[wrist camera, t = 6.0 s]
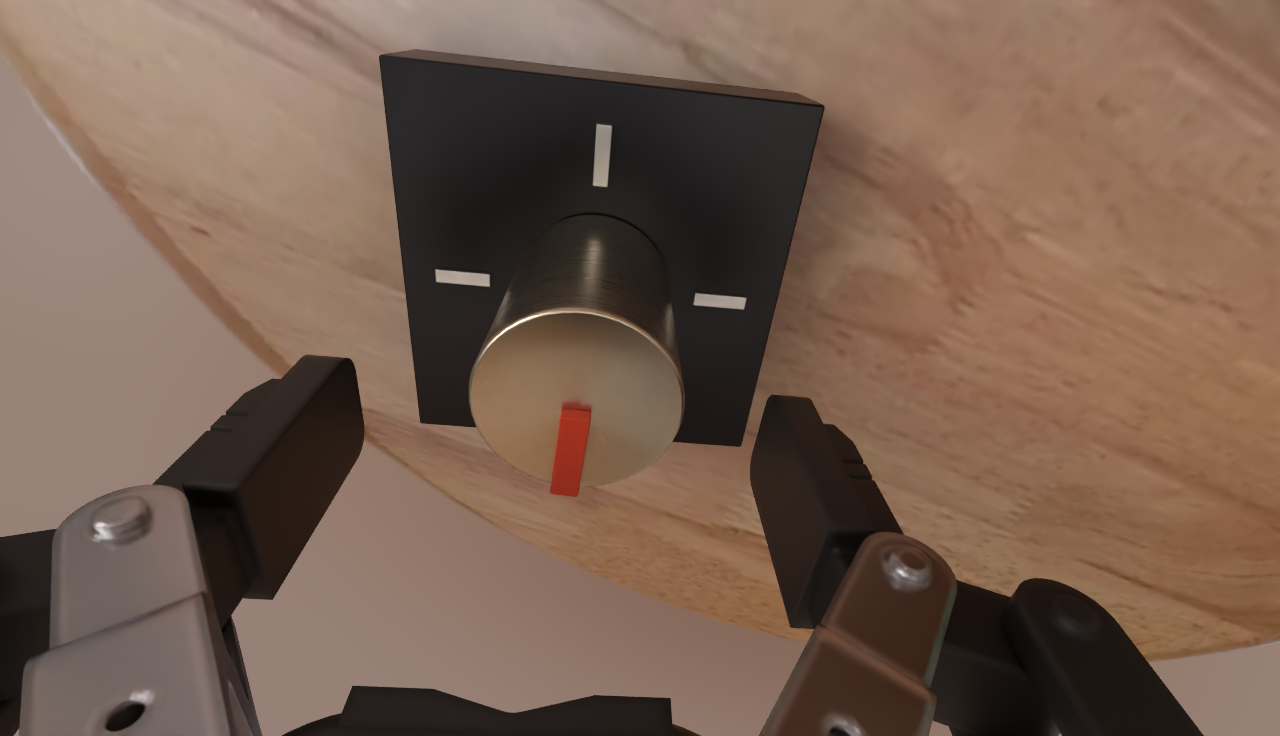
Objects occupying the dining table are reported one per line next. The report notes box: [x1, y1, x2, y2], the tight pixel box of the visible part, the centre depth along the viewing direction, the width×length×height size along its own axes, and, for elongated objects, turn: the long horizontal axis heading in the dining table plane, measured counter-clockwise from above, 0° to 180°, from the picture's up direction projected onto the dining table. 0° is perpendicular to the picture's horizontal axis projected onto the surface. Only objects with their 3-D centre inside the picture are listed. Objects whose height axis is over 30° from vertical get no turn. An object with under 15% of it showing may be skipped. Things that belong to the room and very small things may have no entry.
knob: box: [469, 215, 685, 497], centre depth 13 cm, size 4×4×6 cm
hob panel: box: [379, 49, 824, 447], centre depth 17 cm, size 10×10×3 cm
